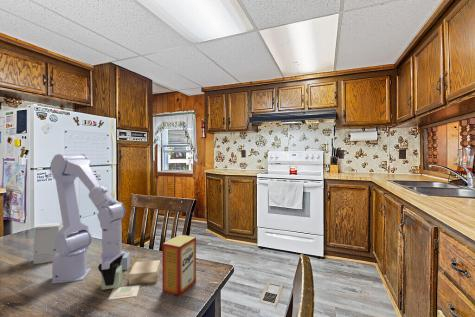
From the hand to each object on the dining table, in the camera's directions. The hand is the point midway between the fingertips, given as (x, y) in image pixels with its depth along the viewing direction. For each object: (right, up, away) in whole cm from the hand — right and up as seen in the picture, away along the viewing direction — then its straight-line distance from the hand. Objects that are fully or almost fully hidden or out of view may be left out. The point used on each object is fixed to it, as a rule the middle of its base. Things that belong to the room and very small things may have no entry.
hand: (112, 280), depth 78 cm
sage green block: (0, -1, 0) cm, 1 cm away
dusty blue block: (-3, -2, +13) cm, 13 cm away
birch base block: (+9, -2, +6) cm, 11 cm away
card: (+6, -2, -4) cm, 7 cm away
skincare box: (-36, -2, +19) cm, 41 cm away
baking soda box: (+23, -2, 0) cm, 23 cm away
